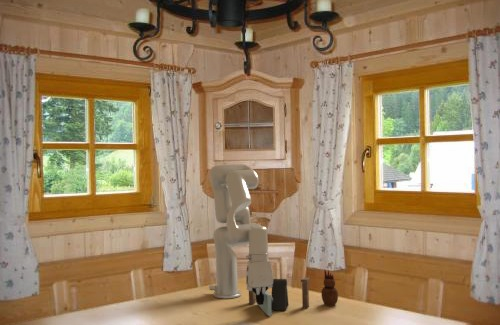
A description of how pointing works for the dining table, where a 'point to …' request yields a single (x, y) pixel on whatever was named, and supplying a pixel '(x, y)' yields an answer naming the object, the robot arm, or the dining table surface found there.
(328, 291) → the wooden figurine
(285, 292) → the door stopper
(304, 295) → the brown gate posts
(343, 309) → the dining table surface
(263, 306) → the door
